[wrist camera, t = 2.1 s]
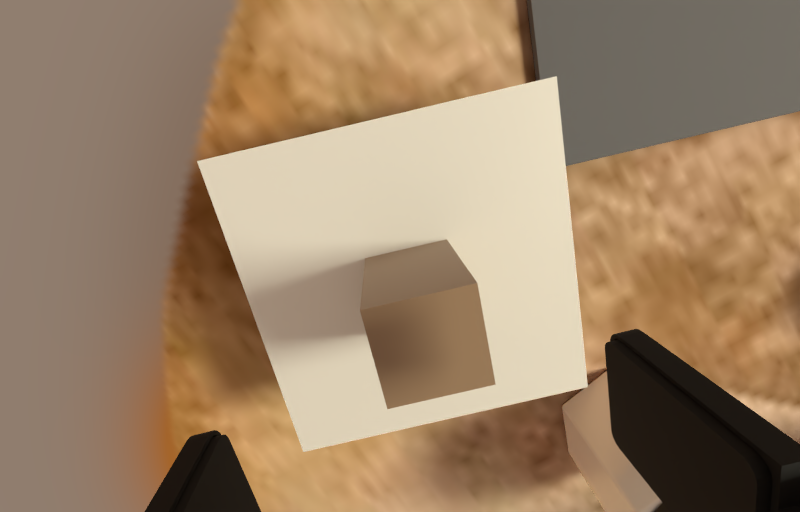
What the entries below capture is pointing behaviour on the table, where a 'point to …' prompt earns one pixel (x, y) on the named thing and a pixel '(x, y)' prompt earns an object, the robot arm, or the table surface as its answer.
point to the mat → (664, 68)
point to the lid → (410, 263)
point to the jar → (604, 453)
